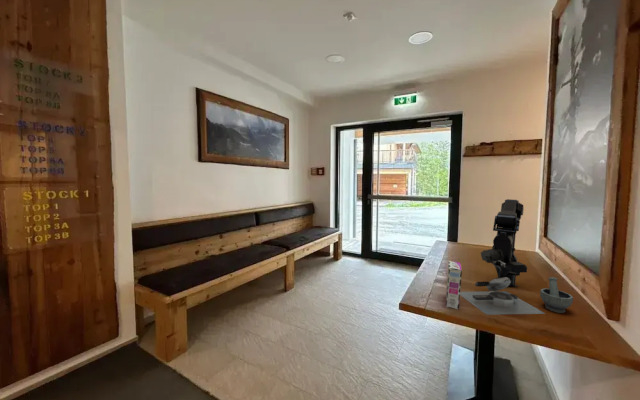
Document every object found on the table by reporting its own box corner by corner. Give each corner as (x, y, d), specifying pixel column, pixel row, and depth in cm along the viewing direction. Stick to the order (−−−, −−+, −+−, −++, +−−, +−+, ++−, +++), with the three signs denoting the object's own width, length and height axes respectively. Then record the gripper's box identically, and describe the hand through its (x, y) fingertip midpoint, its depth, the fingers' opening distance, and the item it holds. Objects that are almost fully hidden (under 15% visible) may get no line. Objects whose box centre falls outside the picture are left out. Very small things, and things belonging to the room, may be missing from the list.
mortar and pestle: (575, 318, 100) (578, 287, 99) (544, 312, 104) (546, 283, 103) (563, 305, 110) (566, 277, 109) (535, 300, 114) (537, 273, 113)
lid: (504, 290, 115) (501, 287, 116) (515, 278, 109) (512, 274, 110) (472, 291, 114) (470, 287, 115) (481, 278, 108) (479, 274, 109)
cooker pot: (506, 297, 116) (506, 290, 116) (523, 307, 107) (524, 300, 107) (466, 297, 115) (467, 290, 115) (480, 308, 106) (481, 300, 106)
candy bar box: (459, 310, 104) (462, 270, 103) (445, 307, 107) (448, 268, 105) (458, 299, 115) (461, 262, 113) (445, 296, 117) (447, 260, 115)
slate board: (506, 292, 122) (506, 291, 122) (545, 314, 103) (545, 313, 103) (456, 292, 121) (456, 291, 121) (486, 315, 101) (486, 314, 101)
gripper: (471, 237, 118) (468, 271, 120) (502, 251, 99) (497, 291, 101) (495, 237, 118) (492, 271, 120) (530, 251, 100) (525, 290, 102)
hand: (500, 280), depth 111 cm, fingers closed, pressing on lid
